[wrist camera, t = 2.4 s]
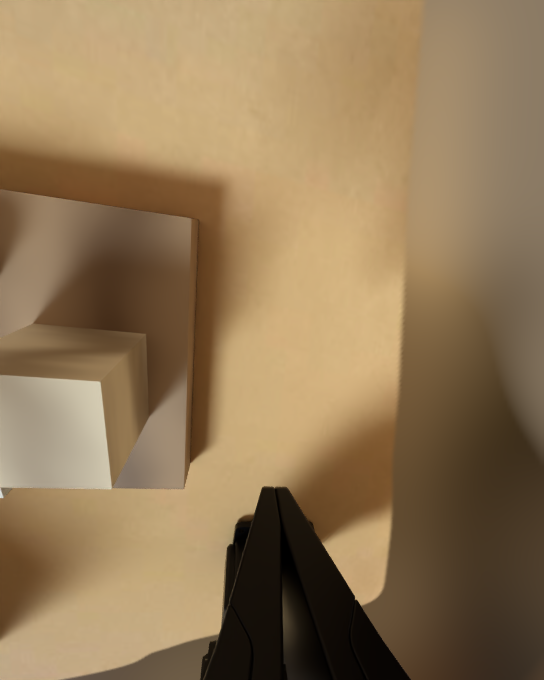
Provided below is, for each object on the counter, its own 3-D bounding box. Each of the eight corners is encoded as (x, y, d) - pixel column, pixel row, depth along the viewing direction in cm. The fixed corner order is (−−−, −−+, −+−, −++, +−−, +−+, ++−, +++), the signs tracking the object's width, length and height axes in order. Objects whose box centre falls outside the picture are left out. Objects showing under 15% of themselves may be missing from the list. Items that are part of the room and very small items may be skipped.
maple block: (146, 333, 13) (100, 381, 9) (148, 417, 15) (111, 489, 11) (32, 323, 12) (-74, 369, 8) (50, 412, 14) (-30, 486, 10)
